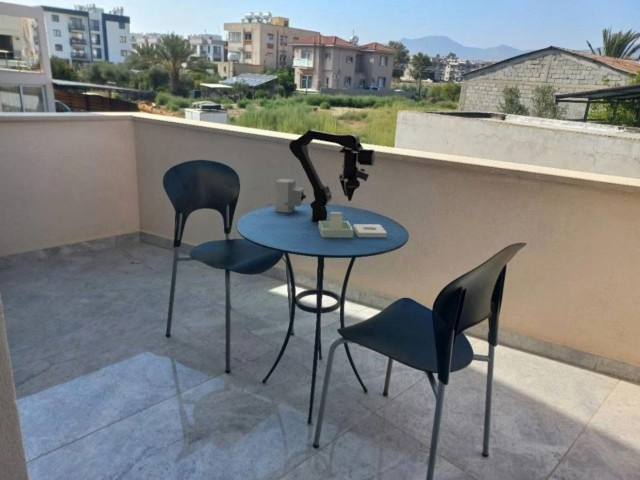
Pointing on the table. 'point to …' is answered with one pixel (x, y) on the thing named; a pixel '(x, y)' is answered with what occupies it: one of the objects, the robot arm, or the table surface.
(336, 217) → the block
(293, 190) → the circuit breaker
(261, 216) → the table surface
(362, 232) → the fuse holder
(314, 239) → the table surface
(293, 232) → the table surface
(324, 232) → the parts tray
